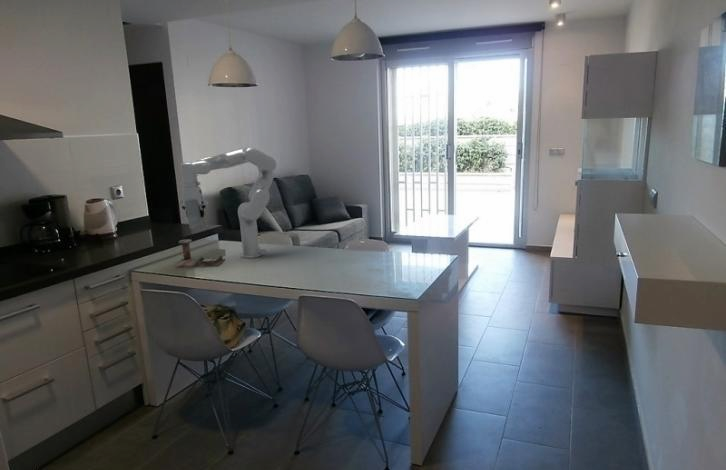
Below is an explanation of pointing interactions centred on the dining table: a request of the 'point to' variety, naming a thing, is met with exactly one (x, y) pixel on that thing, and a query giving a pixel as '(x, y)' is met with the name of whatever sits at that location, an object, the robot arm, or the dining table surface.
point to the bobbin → (186, 249)
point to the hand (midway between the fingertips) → (195, 217)
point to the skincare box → (194, 214)
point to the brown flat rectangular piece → (200, 262)
